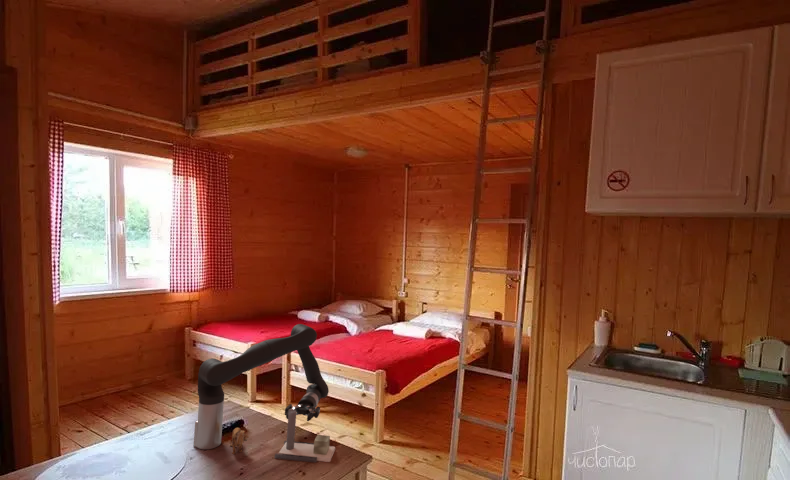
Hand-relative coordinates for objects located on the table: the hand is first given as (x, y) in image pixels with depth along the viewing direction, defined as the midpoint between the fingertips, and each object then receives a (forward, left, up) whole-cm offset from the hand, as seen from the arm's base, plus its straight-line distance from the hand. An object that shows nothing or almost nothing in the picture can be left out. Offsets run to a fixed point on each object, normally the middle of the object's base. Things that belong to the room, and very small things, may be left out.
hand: (297, 417), depth 172 cm
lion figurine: (-20, -10, -10) cm, 25 cm away
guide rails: (+4, -9, -10) cm, 14 cm away
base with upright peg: (+7, -9, -10) cm, 15 cm away
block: (+13, -9, -8) cm, 17 cm away
